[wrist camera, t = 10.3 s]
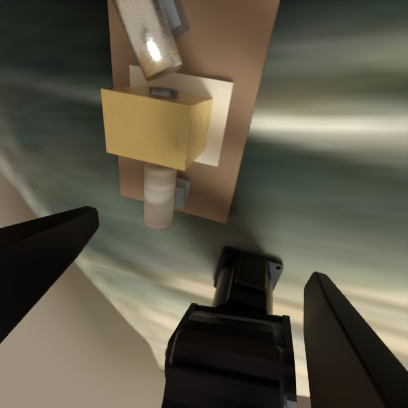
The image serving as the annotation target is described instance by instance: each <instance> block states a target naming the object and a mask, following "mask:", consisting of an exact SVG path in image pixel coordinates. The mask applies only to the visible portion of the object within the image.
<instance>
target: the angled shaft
mask: <svg viewBox="0 0 408 408" xmlns="http://www.w3.org/2000/svg"><path fill="white" fill-rule="evenodd" d="M112 3H113V5H114V7H115V10H116V12H117V14H118V17H119V19H120V21H121V24H122V26H123V28H124V31H125V33H126V35H127V38H128V40H129V42H130V45H131V47H132V49H133V52H134V54H135V56H136V59H137V61H138V63H139V66H140V68H141V70H142V73H143V75H144V77H145V80H146V81H153V80H157V79H160V78H163V77H165V76H167V75H169V74H171V73H173V72H175V71H177V70H178V69H180V68H181V67H182V66H183V63H182V60H181V58H180V55H179V52H178V49H177V46H176V44H175V41H174V39H175V38H177V37H178V36H180V35H182V34H183V33H185V32H187V31H188V30H190V27H189V24H188V21H187V18H186V15H185V12H184V9H183V6H182V3H181V0H112Z"/></svg>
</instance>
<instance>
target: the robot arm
mask: <svg viewBox="0 0 408 408" xmlns="http://www.w3.org/2000/svg"><path fill="white" fill-rule="evenodd" d="M98 227H99V218H98V211H97V209H96V208H93V207H90V206H84V207H81V208H77V209H73V210H69V211H65V212H61V213H57V214H53V215H50V216H46V217H42V218H38V219H34V220H30V221H26V222H22V223H19V224H15V225H11V226H7V227H3V228H0V344H1V342H2V341H3V340H4V339H5V338H6V337H7V336H8V334H9V333H10V332H11V331H12V330H13V329H14V328H15V327H16V326H17V324H18V323H19V322H20V321H21V320H22V319H23V318H24V316H25V315H26V314H27V313H28V312H29V311H30V310H31V309H32V308H33V306H34V305H35V304H36V303H37V302H38V301H39V300H40V299H41V297H42V296H43V295H44V294H45V293H46V292H47V291H48V290H49V288H50V287H51V286H52V285H53V284H54V283H55V282H56V280H57V279H58V278H59V277H60V276H61V275H62V274H63V273H64V272H65V270H66V269H67V268H68V267H69V266H70V265H71V264H72V263H73V261H74V260H75V259H76V258H77V257H78V255H79V254H80V253H81V251H82V250H83V249H84V247H85V246H86V245H87V243H88V242H89V240H90V239H91V238H92V236H93V235H94V233H95V232H96V231H97V229H98ZM226 251H228V252H226ZM277 266H280V267H277ZM282 271H283V263H282V262H279V261H276V260H272V259H269V258H265V257H262V256H258V255H255V254H251V253H248V252H244V251H241V250H237V249H234V248H231V247H224V248H223V250H222V254H221V258H220V262H219V266H218V270H217V274H216V278H215V282H214V287H215V288H216V291H215V295H214V299H213V302H212V306H204V305H198V304H197V303H191V305H190V307H189V308H188V310H187V311H186V313H185V315H184V316H183V318H182V320H181V321H180V323H179V324H178V326H177V328H176V329H175V331H174V333H173V334H172V336H171V338H170V339H169V341H168V347H167V349H166V352H165V356H166V359H165V378H166V384H165V390H164V397H163V403H162V407H161V408H297V405H296V403H297V399H296V374H295V360H294V351H293V342H292V334H291V325H290V316H287V315H283V316H278V315H273V290H274V288H275V286H276V284H277V281H278V279H279V277H280V275H281V273H282ZM304 342H305V351H306V361H307V371H308V380H309V390H310V399H311V408H408V371H407V370H406V369H405V367H404V366H403V365H402V364H401V363H400V362H399V360H398V359H397V358H396V357H395V356H394V354H393V353H392V352H391V351H390V350H389V348H388V347H387V346H386V345H385V344H384V342H383V341H382V340H381V339H380V338H379V337H378V335H377V334H376V333H375V332H374V331H373V329H372V328H371V327H370V326H369V325H368V323H367V322H366V321H365V320H364V319H363V317H362V316H361V315H360V314H359V313H358V312H357V310H356V309H355V308H354V307H353V306H352V304H351V303H350V302H349V301H348V300H347V298H346V297H345V296H344V295H343V294H342V292H341V291H340V290H339V289H338V288H337V287H336V285H335V284H334V283H333V282H332V281H331V279H330V278H329V277H328V276H327V275H326V274H323V273H319V272H314V273H313V274H312V275H311V277H310V278H309V280H308V282H307V284H306V285H305V288H304Z"/></svg>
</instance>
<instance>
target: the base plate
mask: <svg viewBox="0 0 408 408" xmlns="http://www.w3.org/2000/svg"><path fill="white" fill-rule="evenodd" d="M181 3H182V6H183V9H184V12H185V15H186V18H187V21H188V24H189V27H190V30H188V31H187V32H185V33H183V34H182V35H180V36H178V37H177V38H175V39H174V41H175V44H176V46H177V49H178V52H179V55H180V58H181V60H182V63H183V66H182V67H181V68H180V69H178V70H177V71H175V72H173V73H171V74H169V75H167V76H165V77H163V78H160V79H157V80H153V81H146V80H145V77H144V75H143V73H142V70H141V68H140V66H139V63H138V61H137V59H136V56H135V54H134V52H133V49H132V47H131V45H130V42H129V40H128V38H127V35H126V33H125V31H124V28H123V26H122V24H121V21H120V19H119V17H118V14H117V12H116V10H115V7H114V5H113V3H112V0H108V14H109V29H110V44H111V59H112V74H113V88H122V87H139V86H147V87H150V86H155V87H164V88H170V89H175V90H178V91H179V92H180V93H185V94H191V95H196V96H202V97H207V98H213V102H212V109H211V116H210V123H209V130H208V136H207V143H206V149H205V150H204V151H203V152H202V153H201V154H200V155H199V156H198V157H197V158H196V159H195V161H194V162H193V163H192V164H191V165H190V166H189V167H188V168H187V169H186V170H185V171H183V170H179V169H174V168H170V167H166V166H162V165H158V164H154V163H149V162H145V161H141V160H137V159H133V158H129V157H124V156H120V155H118V163H119V178H120V193H121V195H122V196H125V197H129V198H133V199H136V200H140V201H144V223H145V225H146V226H147V227H149V228H151V229H155V230H163V229H166V228H168V227H170V226H171V225H172V223H173V212H174V210H177V211H180V212H184V213H188V214H192V215H195V216H199V217H203V218H206V219H210V220H214V221H217V222H221V223H225V224H226V222H227V219H228V215H229V211H230V207H231V203H232V199H233V195H234V191H235V186H236V182H237V178H238V174H239V170H240V166H241V161H242V157H243V153H244V149H245V145H246V141H247V137H248V132H249V128H250V124H251V120H252V116H253V112H254V107H255V103H256V99H257V95H258V91H259V87H260V83H261V78H262V74H263V70H264V66H265V62H266V58H267V53H268V49H269V45H270V41H271V37H272V33H273V29H274V24H275V20H276V16H277V12H278V8H279V4H280V0H181Z"/></svg>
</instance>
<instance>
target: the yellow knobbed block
mask: <svg viewBox="0 0 408 408" xmlns="http://www.w3.org/2000/svg"><path fill="white" fill-rule="evenodd" d="M101 96H102V106H103V117H104V127H105V137H106V148H107V152H108V153H112V154H116V155H120V156H124V157H129V158H133V159H137V160H141V161H145V162H149V163H154V164H158V165H162V166H166V167H170V168H174V169H179V170H183V171H185V170H186V169H187V168H188V167H189V166H190V165H191V164H192V163H193V162H194V161H195V159H196V158H197V157H198V156H199V155H200V154H201V153H202V152H203V151H204V150H205V149H206V143H207V136H208V130H209V123H210V116H211V109H212V102H213V98H207V97H202V96H196V95H191V94H185V93H180V92H179V91H178V90H175V89H170V88H164V87H155V86H150V87H147V86H139V87H122V88H105V89H101Z"/></svg>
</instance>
